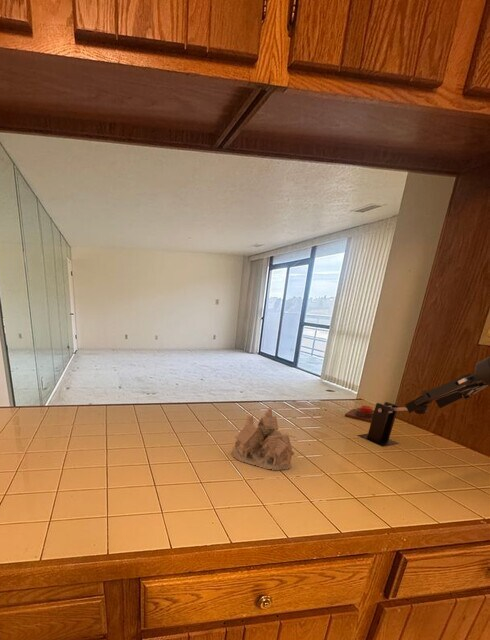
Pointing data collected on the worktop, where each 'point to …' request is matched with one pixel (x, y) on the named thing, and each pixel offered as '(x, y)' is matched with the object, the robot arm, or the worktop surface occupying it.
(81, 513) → the worktop surface
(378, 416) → the bracket
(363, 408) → the red button
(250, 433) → the ceramic cottage
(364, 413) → the button block
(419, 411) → the switch lever
